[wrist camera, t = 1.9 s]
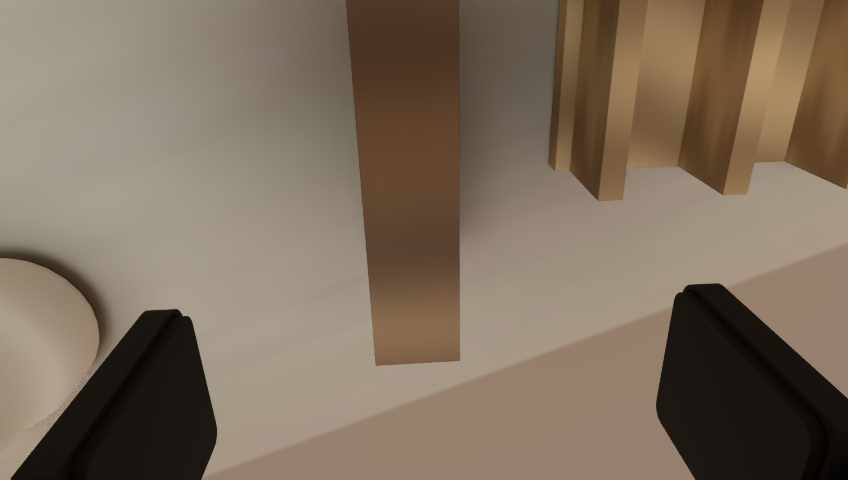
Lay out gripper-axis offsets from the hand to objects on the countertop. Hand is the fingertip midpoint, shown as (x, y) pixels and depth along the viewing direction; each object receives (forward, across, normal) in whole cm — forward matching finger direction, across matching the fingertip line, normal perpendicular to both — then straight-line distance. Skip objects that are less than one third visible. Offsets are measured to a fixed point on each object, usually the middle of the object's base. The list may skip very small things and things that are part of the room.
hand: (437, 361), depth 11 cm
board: (+17, 0, -1) cm, 17 cm away
